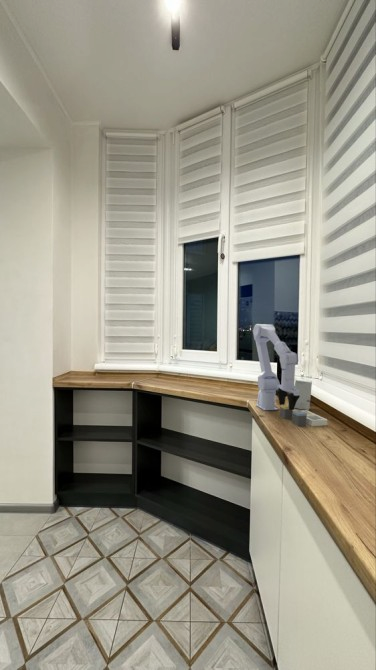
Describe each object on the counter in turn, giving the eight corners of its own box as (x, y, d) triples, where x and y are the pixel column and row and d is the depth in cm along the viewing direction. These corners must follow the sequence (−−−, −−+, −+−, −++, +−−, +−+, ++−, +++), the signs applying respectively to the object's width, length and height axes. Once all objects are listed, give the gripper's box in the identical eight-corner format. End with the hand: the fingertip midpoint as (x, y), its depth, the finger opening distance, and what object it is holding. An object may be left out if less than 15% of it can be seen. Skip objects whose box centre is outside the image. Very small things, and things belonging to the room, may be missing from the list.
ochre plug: (279, 416, 142) (280, 404, 141) (287, 415, 143) (287, 404, 142) (284, 418, 138) (285, 407, 138) (292, 418, 139) (292, 406, 139)
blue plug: (292, 423, 132) (293, 410, 132) (300, 422, 133) (300, 410, 133) (297, 426, 128) (298, 413, 128) (306, 425, 129) (306, 413, 129)
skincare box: (292, 408, 157) (294, 379, 156) (293, 405, 162) (295, 378, 161) (310, 410, 153) (311, 381, 152) (310, 407, 159) (312, 379, 158)
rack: (292, 416, 142) (292, 411, 142) (306, 415, 144) (306, 410, 144) (311, 426, 129) (311, 420, 129) (327, 425, 131) (327, 419, 131)
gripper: (305, 381, 134) (303, 411, 134) (286, 375, 148) (285, 402, 148) (291, 381, 132) (290, 412, 132) (273, 375, 146) (272, 403, 146)
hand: (286, 407), depth 140 cm, fingers open, 7 cm apart
